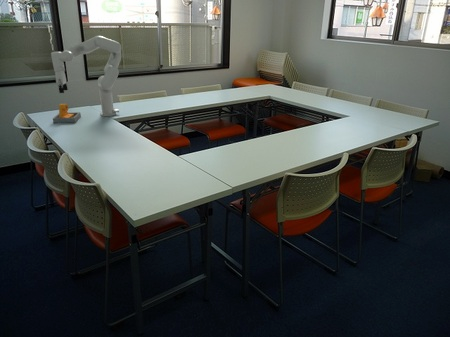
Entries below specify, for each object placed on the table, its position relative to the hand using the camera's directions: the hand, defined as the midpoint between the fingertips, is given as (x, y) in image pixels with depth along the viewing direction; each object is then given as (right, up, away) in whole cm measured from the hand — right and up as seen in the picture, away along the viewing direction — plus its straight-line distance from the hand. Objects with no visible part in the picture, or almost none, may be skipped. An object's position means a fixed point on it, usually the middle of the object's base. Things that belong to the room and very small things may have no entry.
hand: (63, 91), depth 279 cm
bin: (0, -21, +8) cm, 22 cm away
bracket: (0, -20, +7) cm, 22 cm away
